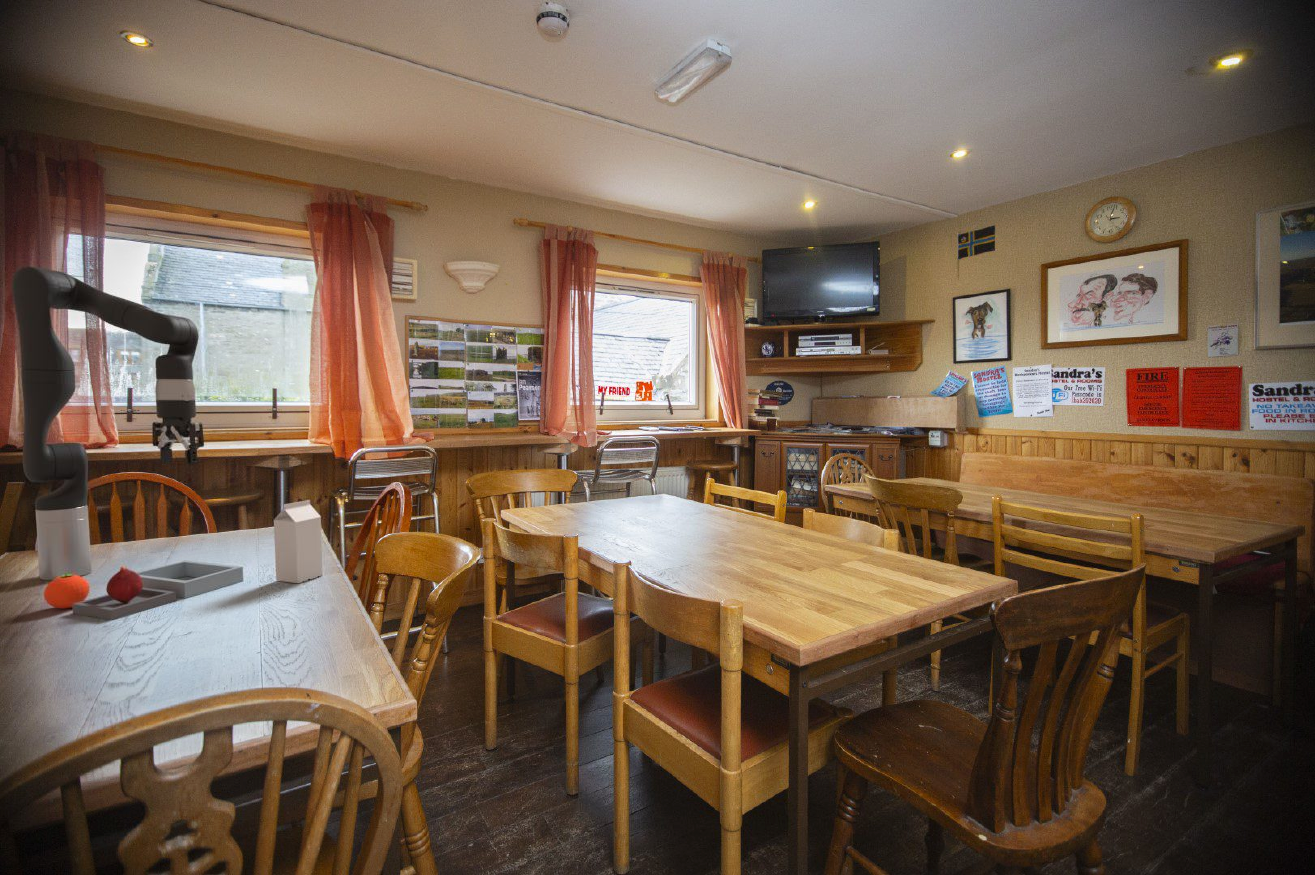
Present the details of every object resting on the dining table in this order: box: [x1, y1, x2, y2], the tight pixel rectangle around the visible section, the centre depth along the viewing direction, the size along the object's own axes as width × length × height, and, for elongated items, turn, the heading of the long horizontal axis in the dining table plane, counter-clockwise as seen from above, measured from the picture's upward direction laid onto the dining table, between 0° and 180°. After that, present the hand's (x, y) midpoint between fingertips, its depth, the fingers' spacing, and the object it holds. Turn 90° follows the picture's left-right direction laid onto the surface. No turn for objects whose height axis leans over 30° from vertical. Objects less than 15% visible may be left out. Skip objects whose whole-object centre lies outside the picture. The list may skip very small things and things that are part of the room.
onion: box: [105, 565, 143, 603], centre depth 128 cm, size 6×6×8 cm
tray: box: [71, 587, 177, 621], centre depth 128 cm, size 12×12×2 cm
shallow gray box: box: [135, 560, 244, 599], centre depth 143 cm, size 19×13×4 cm
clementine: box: [43, 574, 91, 609], centre depth 128 cm, size 8×7×7 cm
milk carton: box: [273, 499, 324, 584], centre depth 148 cm, size 7×7×19 cm
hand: (179, 464), depth 147 cm, fingers open, 8 cm apart
